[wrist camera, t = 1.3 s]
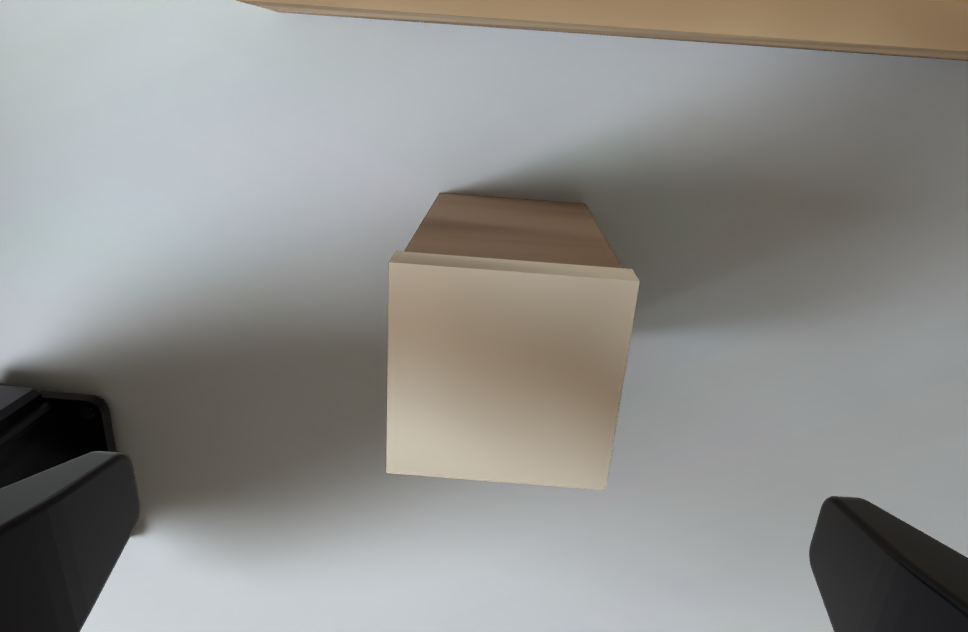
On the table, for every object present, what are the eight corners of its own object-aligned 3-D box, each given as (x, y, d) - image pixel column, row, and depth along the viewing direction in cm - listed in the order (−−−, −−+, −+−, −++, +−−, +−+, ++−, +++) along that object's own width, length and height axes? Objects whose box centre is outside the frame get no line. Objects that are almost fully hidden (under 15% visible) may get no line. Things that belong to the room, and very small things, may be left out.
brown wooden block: (570, 340, 21) (605, 490, 13) (430, 330, 21) (386, 473, 13) (588, 200, 19) (640, 281, 12) (436, 189, 19) (388, 262, 12)
